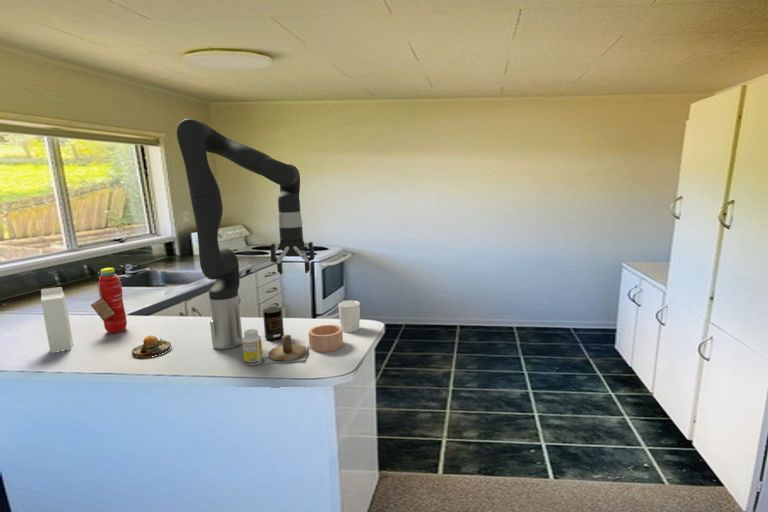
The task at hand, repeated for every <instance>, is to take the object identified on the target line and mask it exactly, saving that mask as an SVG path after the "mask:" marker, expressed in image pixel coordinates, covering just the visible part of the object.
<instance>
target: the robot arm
mask: <svg viewBox="0 0 768 512" xmlns="http://www.w3.org/2000/svg"><path fill="white" fill-rule="evenodd" d="M176 138H177V143H178V145H179V149H180V152H181V157H182V158H183V163H184V166H185V173H186V179H187V185H188V189H189V195H190V201H191V207H192V211H193V217H194V221H195V228H196V233H197V245H198V254H199V255H198V256H199V257H198V258H199V265H200V266H199V267H200V269H201V271H202V274H203V276H204V277H206V279H208V280H212V281H213V280H214V281H215V282H214V284H213V285H212V287H210V288H209V290H208V296H209V306H210V315H211V320H210V323H209V326H210V331H211V332H210V333H211V342H212V348H213V349H219V350H230V349H233V348H237V347H240V346H241V345H243V343H242V339H243V338H244V337H243V329H242V319H241V312H240V311H241V310H240V300H239V288H240V284H241V283H240V266H239V265H240V264H239V260H238V257H237V255H236V253H235V251H233V250H232V249H229V248H220V245H219V241H218V240H219V239H218V237H219V235H218V234H219V229H220V225H221V221H222V217H223V213H224V209H223V208H224V207H223V200H222V195H221V190H220V187H219V184H218V182H217V180H216V178H215V175H214V173H213V171H212V170H211V167H210V164H209V161H208V155H207V153H212V154H215V155H217V156H220V157H223V158H225V159H227V160H229V161H231V162H232V163H234V164H236V165H238V167H239V166H240V167H241V168H243V169H246V170H247V171H250V172H252V173H254V174H256V175H259V176H262V177H263V178H266V179H268V180H269V181H271V182H272V183H275V184H277V185H279V195H278V198H277V199H278V200H277V207H278V208H277V209H278V229H279V243H275V242H273V243H271V244H270V261H271V262H272V263H273V262H274V263H276V267H277V268H276V269H277V273H279V275H283V274H284V270H283V262H282V260H283V259H284V258H285V256H287V257H292V256H294V257H297V256H300V258H301V259H302V260H303V261H304V273H305V274H308V273H309V272H310V269H311V268H310V267H311V266H310V262H311V261H314V260H315V257H316V256H315V249H314V242H313V241H309V242H305V241H304V235H303V234H304V233H303V221H302V220H303V218H302V214H301V200H300V190H301V176H300V174H301V173H300V172H299V169H298V168H297V167H296V166H295V165H293V164H289V163H284V162H282V161H280V160H277V159H275V158H272V156H270V155H268V154H267V153H264V152H263V151H260V150H258V149H256V148H254V147H251V146H247V145H246V144H243V143H240V142H237V141H235V140H232V139H230V138H228V137H226V136H224V135H223V134H221V133H220V132H218V131H217V130H215V129H213V128H212V127H211V126H209V125H208V124H206V123H205V122H202V121H200V120H197V119H193V118H185V119H183V120H181V121H180V122H179V123H178V125H177V127H176ZM305 247H306V249H308V250H309V256H308V255H307V253H306V252H305V251H304V250H303V249H304V248H305ZM278 249H280V250H281V251H282V252H281V254H280V255H279V257H277V250H278Z"/></svg>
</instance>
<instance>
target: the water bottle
mask: <svg viewBox="0 0 768 512" xmlns="http://www.w3.org/2000/svg"><path fill="white" fill-rule="evenodd" d="M100 274H101V275H100V277H99V279H98V282H97V285H98V286H97V288H98V293H99V299H98V300H96V301H95V302H93V303H91V304H90V307H92V309H93V310H94V312H95V313H96V314H97V315H98V317H99V318H100V319H101V320H102V321H103V325H104V329H105V330H106V332H107V333H109V334H118V333H117V332H119V333H122V332H124V331H126V329H127V324H128V321H127V315H126V310H125V306H124V300H123V288H122V282H121V279H120V278H121V277H119V275H117V273H115V267H105V268H101V269H100ZM121 331H122V332H121Z"/></svg>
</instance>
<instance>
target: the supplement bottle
mask: <svg viewBox="0 0 768 512" xmlns="http://www.w3.org/2000/svg"><path fill="white" fill-rule="evenodd" d="M243 336H244V337H243V338H242V350H243V351H242V352H243V358H244V359H243V361H244V364H245V365H247V366H257V365H260V364H261V363H263V361H264V358H263V357H264V356H263V348H262V347H263V346H262V337H261V335H259V332H258V329H255V328H251V329H246V330H244V333H243Z"/></svg>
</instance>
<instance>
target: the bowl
mask: <svg viewBox="0 0 768 512" xmlns="http://www.w3.org/2000/svg"><path fill="white" fill-rule="evenodd" d="M343 336H344V335H343V331H342V327H341V325H340V326H339V325H336V324H321V325H317V326H314V327H312V328H310V329H309V330H308V343H309V345H308V346H309V349H310V350H311V351H313V352H315V353H330V352H334V351H338V350H340V349H341V348H342V347H343V346H344V343H343V342H344V339H343V338H344V337H343Z"/></svg>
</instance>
